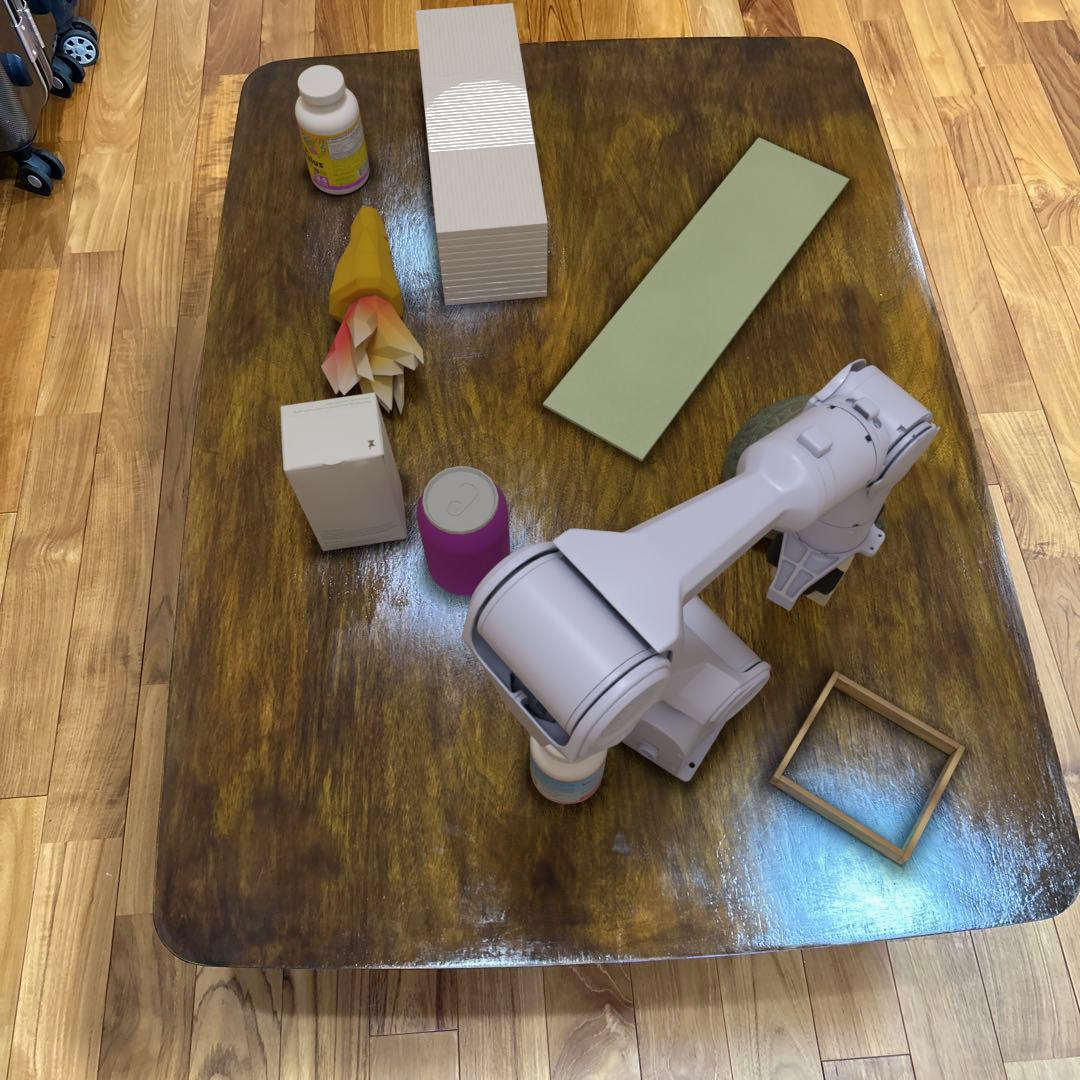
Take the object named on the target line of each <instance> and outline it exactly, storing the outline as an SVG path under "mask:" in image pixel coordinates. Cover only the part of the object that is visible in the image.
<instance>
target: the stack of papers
mask: <svg viewBox="0 0 1080 1080" xmlns="http://www.w3.org/2000/svg"><path fill="white" fill-rule="evenodd" d="M414 12H415V22H416V23H415V24H416V33H417V44H418V53H419V54H418V55H419V63H420V64H419V65H420V74H421V84H422V85H421V86H422V95H423V107H424V117H425V127H426V138H427V149H428V158H429V159H428V160H429V169H430V171H429V172H430V179H431V180H430V181H431V190H432V201H433V202H432V203H433V210H434V211H433V212H434V223H435V233H436V242H437V248H438V259H439V267H440V274H441V284H442V290H443V291H442V292H443V299H444V300H443V301H444V306H445V307H446V306H455V305H467V304H478V303H489V302H497V301H498V302H501V301H511V300H512V301H513V300H520V299H521V300H522V299H533V298H543V297H547V296H548V228H549V227H548V224H549V223H548V217H547V211H546V204H545V198H544V192H543V191H544V190H543V186H542V179H541V174H540V168H539V161H538V154H537V147H536V141H535V135H534V129H533V121H532V115H531V110H530V102H529V97H528V90H527V84H526V78H525V72H524V71H525V70H524V64H523V59H522V52H521V45H520V39H519V34H518V33H519V32H518V27H517V21H516V13H515V8H514V2H509V3H507V2H506V3H496V4H483V5H481V4H480V5H469V6H458V7H444V8H443V7H442V8H431V9H429V8H428V9H418V10H417V9H416V10H415V11H414Z"/></svg>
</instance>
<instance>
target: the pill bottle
mask: <svg viewBox="0 0 1080 1080" xmlns="http://www.w3.org/2000/svg"><path fill="white" fill-rule="evenodd" d="M529 735H530V734H529ZM608 749H609V748H608ZM608 749H606V750H603V751H601V752H599V753H597V754H594V755H592V756H590V757H587V758H580V759H578V760H575V761H573V762H570V761H569V760H567V759H566V758H565V757H564V756H563V755H562V754H561V753H560V752H558V751H557V750H556V749H555V748H554V747H553V746H552V745H551V744H550V745H547V746H544V747H541V746H540V745H539V744H538V743H537V741H536V740H535V739H534V738H533V737H532V736H531V735H530V736H529V770H530V776H531V779H532V782H533V784H534V786H535V788H536V789H537V791H538V792H539V793H540V794H541V795H542V796H543V797H544V798H546V799H548V800H550V801H551V802H555V803H558V804H565V805H569V804H571V805H572V804H578V803H581V802H583V801H586V800H587V799H589V798H590V797H591V796H592V795H594V793H595V792H596V791H597V790H598V789H599V787H600V785H601V783H602V781H603V777H604V772H605V768H606V761H607V755H608Z"/></svg>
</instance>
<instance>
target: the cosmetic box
mask: <svg viewBox="0 0 1080 1080" xmlns="http://www.w3.org/2000/svg"><path fill="white" fill-rule="evenodd" d="M280 431H281V432H280V433H281V450H282V451H281V453H282V467H283V471H284V474H285V476H286V478H287V479H288V481H289V484H290V486H291V488H292V490H293V492H294V494H295V496H296V498H297V500H298V502H299V505H300V507H301V509H302V511H303V513H304V515H305V517H306V520H307V521H308V523H309V525H310V529H312V532H313V534H314V536H315V538H316V540H317V542H318V544H319V546H320V548H321V551H323V552H326V551H333V550H340V549H346V548H347V549H348V548H354V547H359V546H367V545H375V544H379V543H387V542H392V541H400V540H405V539H407V538H408V529H407V528H408V527H407V517H406V511H405V510H406V508H405V502H404V494H403V486H402V485H403V484H402V480H401V477H400V474H399V470H398V467H397V464H396V459H395V456H394V453H393V449H392V445H391V442H390V438H389V436H388V432H387V428H386V425H385V422H384V418H383V414H382V411H381V407H380V403H379V401H378V400H377V397H376V394H375V392H374V393H367V394H363V393H361V394H354V395H348V396H342V397H341V396H340V397H334V398H328V399H320V400H313V401H307V402H300V403H294V404H285V405H281V406H280Z"/></svg>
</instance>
